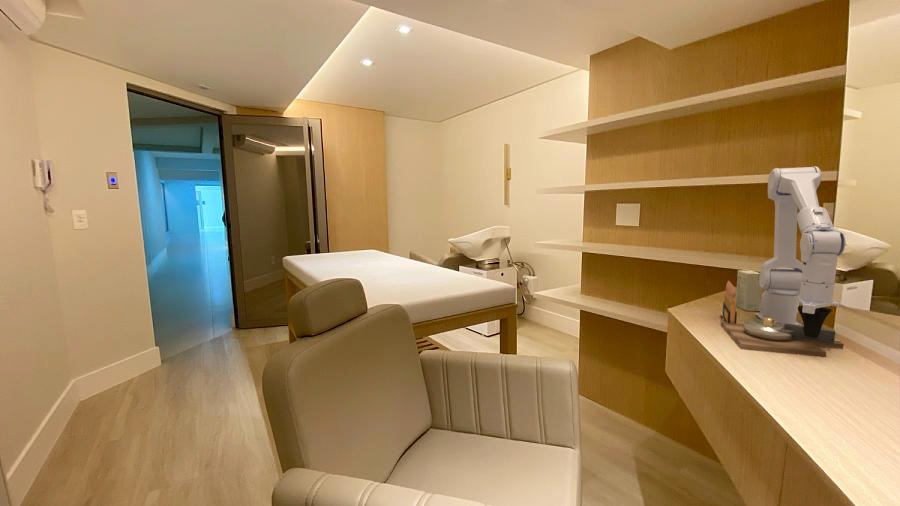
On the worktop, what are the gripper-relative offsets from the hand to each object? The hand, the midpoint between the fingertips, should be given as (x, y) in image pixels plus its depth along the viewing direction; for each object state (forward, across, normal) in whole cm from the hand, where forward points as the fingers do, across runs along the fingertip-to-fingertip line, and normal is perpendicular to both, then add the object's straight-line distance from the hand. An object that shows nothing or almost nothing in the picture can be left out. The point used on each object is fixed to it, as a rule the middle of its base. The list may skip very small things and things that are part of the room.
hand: (811, 336), depth 92 cm
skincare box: (+3, +28, +20) cm, 34 cm away
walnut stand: (+3, +1, +5) cm, 6 cm away
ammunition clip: (+3, +8, +19) cm, 21 cm away
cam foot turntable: (+1, 0, +5) cm, 5 cm away
